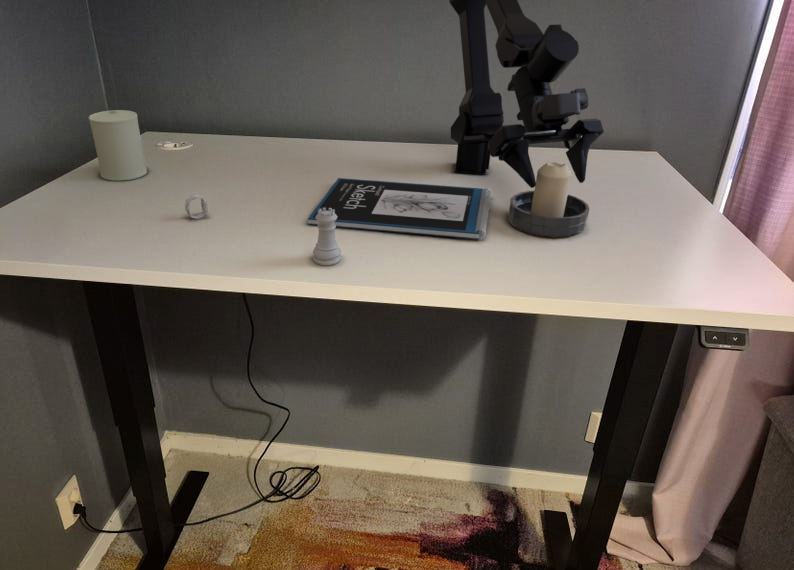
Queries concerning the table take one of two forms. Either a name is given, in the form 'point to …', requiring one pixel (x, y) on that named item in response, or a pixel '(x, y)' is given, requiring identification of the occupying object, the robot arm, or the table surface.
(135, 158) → the can
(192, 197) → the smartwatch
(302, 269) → the table surface
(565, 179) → the candle
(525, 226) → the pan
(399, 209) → the sketchbook
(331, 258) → the rook chess piece
